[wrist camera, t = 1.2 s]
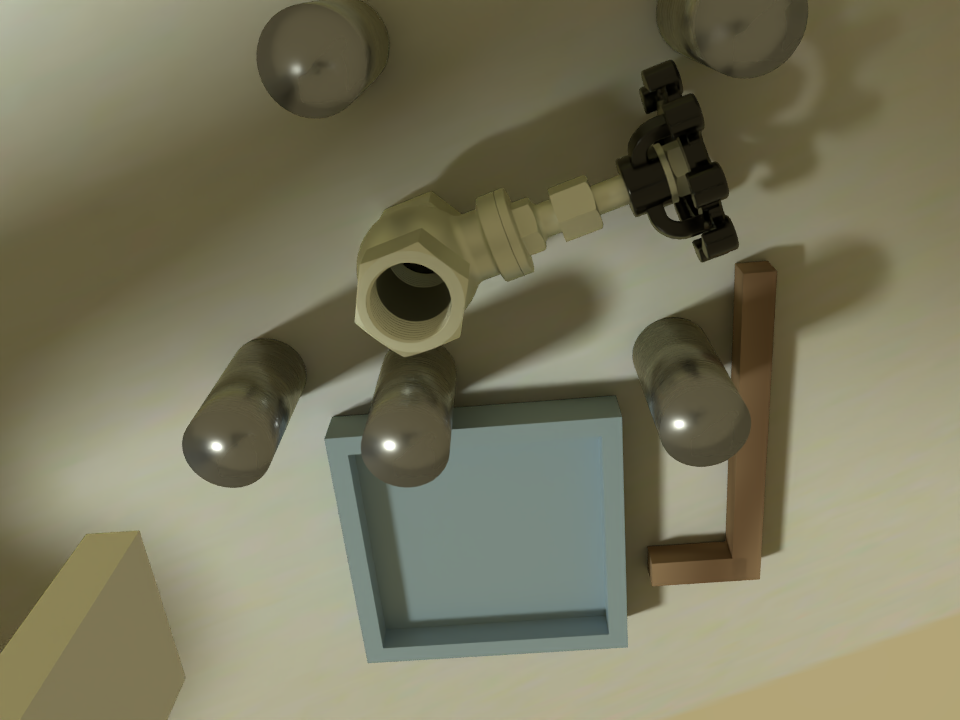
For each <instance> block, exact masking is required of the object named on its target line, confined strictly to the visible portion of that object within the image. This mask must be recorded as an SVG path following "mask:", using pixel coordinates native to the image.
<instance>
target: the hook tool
mask: <svg viewBox="0 0 960 720" xmlns="http://www.w3.org/2000/svg"><path fill="white" fill-rule="evenodd" d="M776 283H777V270H776V269H775V268H774V267H773V266H772V265H771V264H770V263H769V262H768V261H759V262H747V263H735V282H734V311H733V340H732V368H731V380H732V382H733V384H734V385H735V387H736V389H737V390H738V392H739V394H740V396H741V397H742V399H743V401H744V403H745V404H746V406H747V408H748V410H749V413H750V417H751V430H750V433H749V436H748V439H747V441H746V442H745V444H744V445H743V447H742V448H741V449H740V450H739V451H738V452H737V453H736V454H735V455H734V456H732V457H731V458H729V459H728V484H727V513H726V541H723V542H708V543H693V544H678V545H663V546H648V571H649V575H650V579H651V583H652V586H663V585H679V584H694V583H710V582H725V581H741V580H756V579H760V567H761V549H762V531H763V514H764V496H765V478H766V460H767V443H768V425H769V407H770V390H771V372H772V354H773V336H774V319H775V301H776Z"/></svg>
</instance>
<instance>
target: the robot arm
mask: <svg viewBox="0 0 960 720" xmlns="http://www.w3.org/2000/svg"><path fill="white" fill-rule="evenodd" d="M185 678H186V677H185V674H184V671H183V668H182V664H181V661H180V658H179V655H178V652H177V649H176V645H175V642H174V639H173V636H172V633H171V630H170V626H169V623H168V620H167V617H166V614H165V611H164V607H163V604H162V601H161V598H160V595H159V591H158V588H157V585H156V582H155V579H154V576H153V572H152V569H151V566H150V563H149V560H148V557H147V553H146V550H145V547H144V544H143V541H142V538H141V534H140V531H126V532H110V533H95V534H86V535H85V537H84V538H83V539H82V541H81V542H80V544H79V545H78V546H77V548H76V549H75V551H74V552H73V553H72V555H71V556H70V558H69V559H68V560H67V562H66V563H65V564H64V566H63V567H62V569H61V570H60V571H59V573H58V574H57V576H56V577H55V578H54V580H53V581H52V583H51V584H50V585H49V587H48V588H47V589H46V591H45V592H44V594H43V595H42V596H41V598H40V599H39V601H38V602H37V603H36V605H35V606H34V608H33V609H32V610H31V612H30V613H29V614H28V616H27V617H26V619H25V620H24V621H23V623H22V624H21V626H20V627H19V628H18V630H17V631H16V633H15V634H14V635H13V637H12V638H11V639H10V641H9V642H8V644H7V645H6V646H5V648H4V649H3V651H2V652H1V653H0V720H167V719H168V717H169V714H170V712H171V710H172V708H173V705H174V703H175V701H176V698H177V696H178V694H179V692H180V689H181V687H182V685H183V682H184V680H185Z"/></svg>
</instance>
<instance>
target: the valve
mask: <svg viewBox="0 0 960 720" xmlns="http://www.w3.org/2000/svg"><path fill="white" fill-rule="evenodd" d="M641 76H642V81H643V85H644V86H643V87H641V88H640V89H639V93H640V97H641V101H642V104H643V107H644V110H645V112H646V114H649V113H651V112H654V111H656V110H657V115H658V116H656V117H654V118H652V119H650V120H648V121H646V122H645V123H643V124H642V125H641V126H640V127H639V128H638V129H637V130H636V131H635V132H634V133H633V135H632V137H631V139H630V141H629V144H628V155H627V156H624V157H622V158H619V159H617V160H616V167H617V171H618V174H619V175H618V176H615V177H613V178H610V179H607V180H605V181H602V182H600V183H597V184H595V185H592V186H590V185H589V182H588V180H587V177H586V176H584V175H582V176H579V177H577V178H574V179H571V180H569V181H566V182H564V183H561V184H559V185H556V186H554V187H551V188H548V189H547V190H548V194H549V197H550V199H549V200H546V201H544V202H541V203H539V204H533V203H532V202H531V201H530V199H529V198H527V197H525V198H523V199H520V200H518V201H515V202H513V203H512V202H511V200H510V198H509V196H508V194H507V192H506V191H505V189H503V188H500V189H498V190H495V191H493V192H490V193H488V194H485V195H483V196H480V197H478V198H476V200H475V205H476V209H474V210H472V211H470V212H467V213H465V214H461V213H460V212H458V211H457V210H456V209H454V208H453V207H452V206H451V205H449V204H448V203H447V202H445V201H444V200H443V199H441V198H440V197H439V196H437V195H436V194H435V193H433V192H432V191H430V192H427V193H425V194H422V195H420V196H417V197H415V198H412V199H410V200H407V201H405V202H402V203H400V204H397V205H395V206H392V207H390V208H387V209H385V210H384V211H383V213H382V215H381V218H380V219H379V220H378V221H377V222H376V223H375V224H374V225H373V226H372V227H371V228H370V230H369V231H368V232H367V234H366V236H365V237H364V239H363V241H362V243H361V246H360V249H359V252H358V257H357V268H356V270H357V279H358V286H357V296H356V309H355V323H356V324H357V325H358V326H359V327H360V328H362V329H363V330H364V331H365V332H367V333H368V334H369V335H371V336H372V337H373V338H375V339H376V340H377V341H379V342H380V343H382V344H383V345H385V346H386V347H388V348H389V349H391V350H392V351H394V352H396V353H398V354H399V355H401V356H403V357H408V356H412V355H415V354H419V353H422V352H425V351H428V350H431V349H433V348H436V347H438V346H441V345H443V344H446V343H448V342H450V341H453V340H455V339H457V338H459V337H460V335H461V329H462V322H463V315H464V310H465V309H466V308H467V307H468V305H469V304H470V302H471V301H472V299H473V297H474V295H475V293H476V290H477V288H478V285H479V284H480V283H481V282H482V281H483V280H486V279H489V278H491V277H494V276H497V275H499V274H501V275H502V277H503V278H504V280H505V281H507V282H509V281H511V280H514V279H517V278H519V277H522V276H525V275H527V274H530V273H532V272H534V264H533V260H532V257H531V255H533V254H536V253H539V252H541V251H544V250H545V249H546V247H547V245H546V240H547V239H548V238H549V237H551V236H553V235H556V234H558V233H561V232H562V233H563V235H564V238H565V240H566V242H568V241H570V240H573V239H576V238H578V237H581V236H584V235H586V234H589V233H592V232H594V231H597V230H599V229H602V228H603V222H602V219H601V216H600V215H601V214H604V213H607V212H609V211H612V210H614V209H617V208H620V207H622V206H625V205H628V204H629V205H630V208H631V210H632V212H633V214H634V216H635V217H639V216H642V215H644V214H647V215H648V218H649V220H650V222H651V224H652V225H653V227H654V228H655V229H656V230H657V231H658V232H659V233H660V234H662V235H664V236H666V237H669V238H672V239H687V238H691V237H694V236H697V235H699V234H702V235H701V237H702V238H699V239H697V240H694V241H693V242H692V243H693V246H694V249H695V252H696V254H697V257H698V259H699V260H700V262H705V261H708V260H711V259H713V258H716V257H719V256H722V255H724V254H727V253H729V252H730V251H733V250H736V249H738V247H739V242H738V237H737V234H736V231H735V228H734V225H733V223H732V221H731V219H730V218H729V216H727V215H725V214H724V211H723V208H722V204H721V200H723V199H726V198H727V197H728V196H729V189H728V184H727V181H726V178H725V175H724V173H723V170H722V168H721V166H720V165H719V163H718V162H711V160H710V158H709V156H708V153H707V150H706V147H705V144H704V142H703V138H702V134H701V131H702V130H703V129H704V118H703V114H702V111H701V108H700V105H699V103H698V101H697V99H696V97H695V95H694V94H691V93H690V94H687V95H685V96H682V93H683V86H682V81H681V78H680V74H679V72H678V69H677V67H676V65H675V63H674V61H673V60H667V61H665V62H662V63H660V64H657V65H655V66H653V67H650V68H648V69H645V70H643V71H642V72H641ZM652 144H653V145H652ZM651 145H652V146H651ZM671 204H674V207H675V210H676V213H677V215H678V218H679V220H680V221H674V220H672V219H670V218H669V217H668V216H667V214H666V212H665V209H664V207H666V206H668V205H671ZM402 263H416V264H420V265H423V266H425V267H428V268H429V269H431V270H433V271H434V272H435V273H430V274H423V273H417V272H414V271H412V270H410V269H408V268H406V267H405V266H404V265H403V264H402Z"/></svg>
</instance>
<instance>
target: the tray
mask: <svg viewBox="0 0 960 720" xmlns="http://www.w3.org/2000/svg"><path fill="white" fill-rule="evenodd" d="M367 418H368V414H365V415H351V416H338V417H332V419H331V422H330V425H329V428H328V430H327V433H326V436H325V445H326V450H327V455H328V460H329V465H330V470H331V476H332V481H333V486H334V491H335V496H336V501H337V506H338V512H339V517H340V522H341V527H342V532H343V537H344V543H345V548H346V553H347V558H348V563H349V568H350V574H351V579H352V584H353V589H354V594H355V599H356V605H357V610H358V615H359V620H360V625H361V630H362V636H363V641H364V646H365V651H366V656H367V661H368V663H378V662H395V661H411V660H428V659H444V658H460V657H477V656H493V655H510V654H526V653H542V652H559V651H575V650H592V649H608V648H624V647H628V635H627V596H626V556H625V517H624V478H623V439H622V415H621V412H620V408H619V405H618V401H617V398H616V396H603V397H590V398H576V399H563V400H550V401H537V402H523V403H510V404H497V405H484V406H470V407H457V408H454V409H453V420H452V432H451V444H450V455H449V460H448V463H447V465H446V467H445V469H444V470H443V471H442V473H441V474H440V475H439V476H438V477H437V478H435V479H434V480H432V481H431V482H429V483H427V484H424V485H421V486H417V487H407V488H405V487H397V486H393V485H390V484H387V483H385V482H383V481H381V480H380V479H378V478H377V477H375V476H374V475H373V474H372V473H371V472H370V471H369V469H368V468H367V467H366V465H365V463H364V461H363V458H362V455H361V440H362V436H363V432H364V429H365V425H366V421H367Z"/></svg>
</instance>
